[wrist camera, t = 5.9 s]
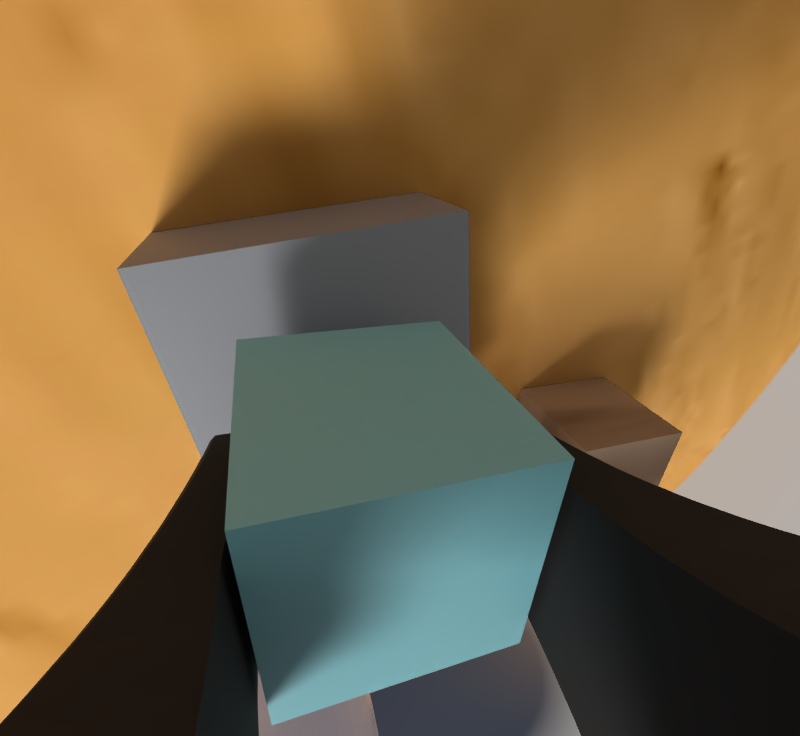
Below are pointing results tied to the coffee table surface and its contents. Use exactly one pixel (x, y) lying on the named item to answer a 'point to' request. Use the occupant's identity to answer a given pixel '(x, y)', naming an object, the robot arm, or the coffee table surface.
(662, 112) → the coffee table surface
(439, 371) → the teal block
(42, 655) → the coffee table surface
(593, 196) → the coffee table surface
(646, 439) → the walnut block
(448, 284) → the gray base block
